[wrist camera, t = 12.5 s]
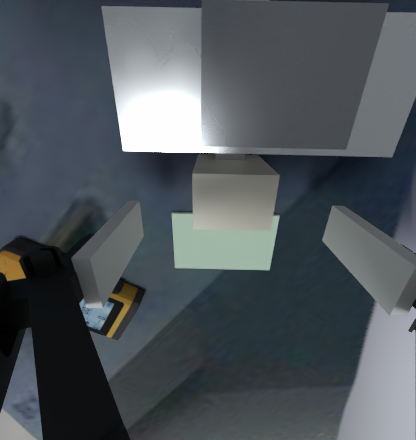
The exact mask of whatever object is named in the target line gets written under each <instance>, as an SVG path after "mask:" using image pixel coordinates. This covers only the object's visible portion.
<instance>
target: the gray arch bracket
mask: <svg viewBox="0 0 416 440" xmlns="http://www.w3.org/2000/svg"><path fill="white" fill-rule="evenodd" d="M388 6H389V3H349V2H303V1H256V0H202V8H172V7H126V6H101V7H102V14H103V21H104V27H105V34H106V41H107V47H108V54H109V61H110V67H111V74H112V81H113V87H114V94H115V101H116V107H117V114H118V121H119V128H120V134H121V141H122V148H123V151H145V152H189V153H232V154H276V155H319V156H362V157H392V156H393V153H394V151H395V148H396V146H397V143H398V141H399V138H400V136H401V133H402V130H403V128H404V125H405V123H406V120H407V118H408V115H409V113H410V110H411V107H412V105H413V102H414V100H415V97H416V13H403V12H387V9H388Z"/></svg>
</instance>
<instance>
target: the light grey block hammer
mask: <svg viewBox="0 0 416 440" xmlns="http://www.w3.org/2000/svg"><path fill="white" fill-rule="evenodd" d="M256 1H270V0H256ZM279 178H280V175H279V174H278V173H277V172H276V171H275V170H274V169H273V168H271V167H270V166H269V165H268V164H267V163H266V162H265V161H264V160H263V159H262V158H261V157H260V156H258V155H245V154H232V153H215V154H198V156H197V159H196V163H195V166H194V169H193V173H192V190H193V229H201V230H252V231H271V226H272V220H273V214H274V208H275V202H276V196H277V190H278V184H279Z"/></svg>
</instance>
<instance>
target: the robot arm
mask: <svg viewBox="0 0 416 440" xmlns="http://www.w3.org/2000/svg"><path fill="white" fill-rule="evenodd" d="M143 236H144V235H143V227H142V219H141V210H140V202H139V201H127V202H126V203H125V204H124V205H123V206H122V207H121V208H120V209H119V210H118V211H117V212H116V213H115V214H114V215H113V216H112V217H111V218H110V219H109V220H108V221H107V222H106V223H105V224H104V225H103V227H102V228H101V229H100V230H99V231H98V232H97V233H96V234H89V235H87V236H85V237H83V238H82V239H81V240H80V241H78V242H77V243H76V245H74V246H73V247H72V248H71V250H69V251H68V252H67V253H66V254H65V255H64V256H62V254H61V251H60V249H59V248H58V247H55V246H45V247H40V248H37V249H34V250H31V251H29V252H27V253H25V254H24V255H23V256H22V257H20V260H19V263H20V265H21V268H22V270H23V272H24V275H25V277H26V278H22V279H17V280H11V281H7V278H6V276H5V275H4V274H3V273H1V272H0V412H1V409H2V405H3V402H4V399H5V396H6V392H7V389H8V386H9V383H10V379H11V376H12V373H13V369H14V366H15V363H16V360H17V356H18V353H19V350H20V347H21V343H22V340H23V337H24V334H25V330H26V328H29V327H31V329H32V338H33V348H34V357H35V367H36V377H37V386H38V396H39V405H40V415H41V424H42V434H43V440H130V438H129V435H128V433H127V430H126V428H125V426H124V424H123V421H122V419H121V416H120V413H119V411H118V408H117V405H116V403H115V400H114V397H113V394H112V392H111V389H110V386H109V384H108V381H107V378H106V375H105V373H104V370H103V367H102V364H101V362H100V359H99V356H98V354H97V351H96V348H95V345H94V343H93V340H92V337H91V334H90V332H89V329H88V326H87V324H86V321H85V318H84V315H83V313H82V310H81V307H80V302H81V301H82V299H84V302H85V305H86V308H103V307H104V305H105V304H106V302H107V300H108V298H109V297H110V295H111V293H112V291H113V289H114V288H115V286H116V284H117V282H118V281H119V279H120V277H121V275H122V274H123V272H124V270H125V268H126V266H127V265H128V263H129V261H130V259H131V258H132V256H133V254H134V252H135V251H136V249H137V247H138V245H139V244H140V242H141V240H142V238H143ZM322 241H323V242H324V243H325V244H326V245H327V246H328V247H329V249H330V250H331V251H332V252H333V253H334V254H335V255H336V256H337V258H338V259H339V260H340V261H341V262H342V263H343V264H344V265H345V266H346V268H347V269H348V270H349V271H350V272H351V273H352V274H353V275H354V277H355V278H356V279H357V280H358V281H359V282H360V283H361V284H362V285H363V287H364V288H365V289H366V290H367V291H368V292H369V293H370V294H371V296H372V297H373V298H374V299H375V300H376V301H377V302H378V303H379V304H380V305H381V307H382V308H383V309H384V310H385V311H386V312H387V313H388V315H389V316H407V314H408V313H409V311H410V309H411V307H412V306H413V307H414V308H416V253H413V251H411V250H410V249H408V248H407V247H405V246H403V245H401V244H399V243H398V242H397V241H395V240H394V239H392V238H391V237H389V236H388V235H386V234H385V233H383V232H382V231H380V230H379V229H377V228H376V227H374V226H373V225H371V224H370V223H368V222H367V221H365V220H364V219H362V218H361V217H359V216H358V215H356V214H355V213H354V212H352V211H351V210H349V209H348V208H346V207H345V206H332V209H331V212H330V216H329V219H328V223H327V226H326V230H325V233H324V237H323V240H322ZM413 330H416V319H415V320H414V322H413V324H412V325H411V327H410V329H409V331H410V332H412V331H413Z"/></svg>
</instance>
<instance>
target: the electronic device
mask: <svg viewBox="0 0 416 440" xmlns="http://www.w3.org/2000/svg"><path fill="white" fill-rule="evenodd" d="M40 247H42V246H40V245H37V244H35V243H33V242H30V241H28V240H26V239H21V238H20V239H16V240H13V241H11V242H10V243H8V244H7V245H5V246H4V247H2V248H1V250H0V272H1V273H3V274H4V275H5V276H6V278H7V281H11V280H17V279H22V278H26V277H25V275H24V272H23V270H22V268H21V265H20V263H19V260H20V257H22V256H23V255H24V254H25V253H27V252H29V251H31V250H34V249H37V248H40ZM62 256H64V255H62ZM143 295H144V290H141V289H139V288H136V287H134V286H132V285H129V284H127V283H124V281H122V280H120V279H119V281H118V282H117V284H116V286H115V288H114V289H113V291H112V293H111V295H110V297H109V298H108V300H107V302H106V304H105V305H104V307H103V308H86V305H85V302H84V299H82V301H81V302H80V307H81V310H82V313H83V315H84V318H85V321H86V324H87V326H88V329H89V331H93V332H95V333H98V334H101V335H104V336H107V337H110V338H113V339H115V340H118V339H119V338H120V337H121V335H122V333H123V332H124V330H125V329H126V327H127V325H128V324H129V322H130V321H131V319H132V317H133V316H134V314H135V313H136V311H137V309H138V307H139V305H140V303H141V300H142V298H143Z"/></svg>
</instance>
